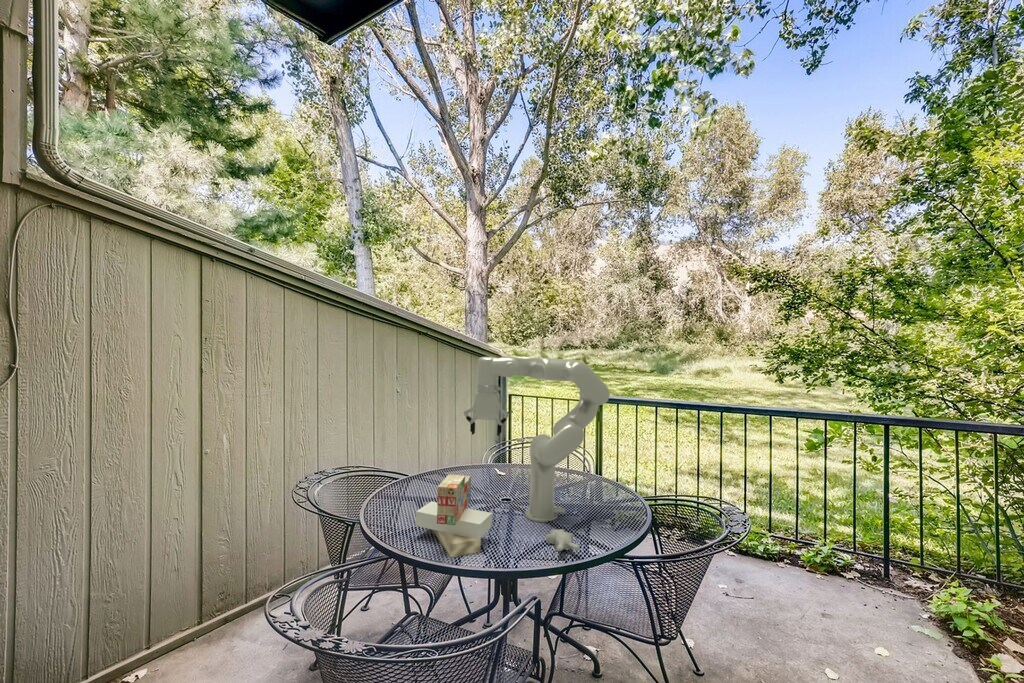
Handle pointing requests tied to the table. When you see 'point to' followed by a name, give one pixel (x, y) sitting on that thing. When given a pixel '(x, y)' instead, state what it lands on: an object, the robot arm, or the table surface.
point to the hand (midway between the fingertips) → (485, 434)
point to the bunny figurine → (561, 540)
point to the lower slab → (458, 544)
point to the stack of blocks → (453, 498)
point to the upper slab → (467, 525)
